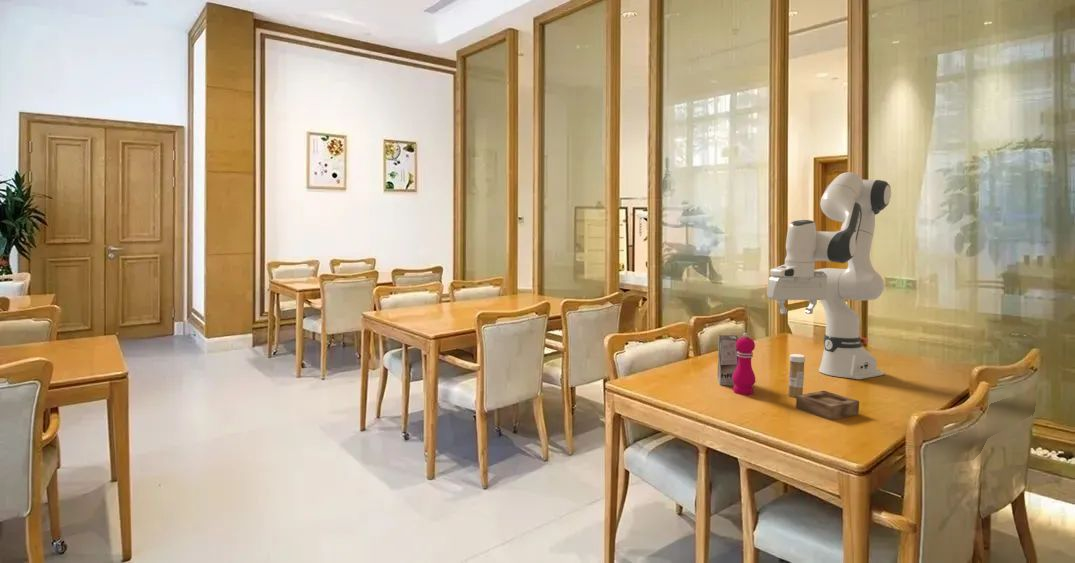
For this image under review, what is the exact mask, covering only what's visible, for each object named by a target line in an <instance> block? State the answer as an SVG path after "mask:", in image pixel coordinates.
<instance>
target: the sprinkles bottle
mask: <svg viewBox="0 0 1075 563" xmlns="http://www.w3.org/2000/svg"><path fill="white" fill-rule="evenodd" d="M805 363H806V356H805V355H804V354H799V353H793V354H790V355H789V371H788V372H789V375H788V393H787V394H788V396H789V397H793V398H796V397H797V395H802V394H804V393H803V392H804V382H805V381H804V380H805Z"/></svg>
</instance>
